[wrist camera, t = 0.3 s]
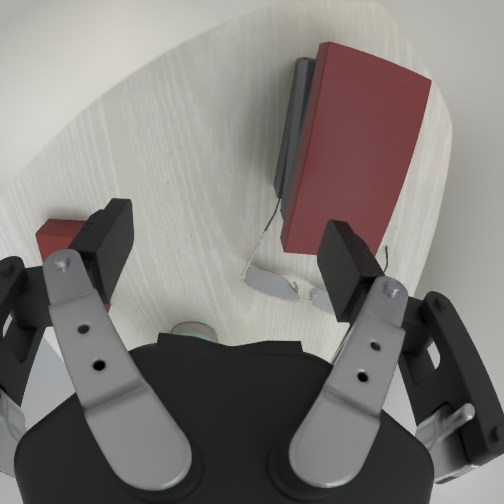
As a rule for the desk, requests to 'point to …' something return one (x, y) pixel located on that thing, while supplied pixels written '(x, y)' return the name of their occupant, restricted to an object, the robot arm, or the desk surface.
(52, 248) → the oxblood books
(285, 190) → the grey books
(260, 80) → the desk surface
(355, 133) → the thin oxblood book
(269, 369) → the robot arm
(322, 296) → the eyeglasses
